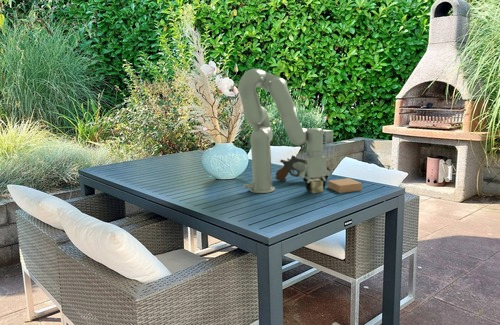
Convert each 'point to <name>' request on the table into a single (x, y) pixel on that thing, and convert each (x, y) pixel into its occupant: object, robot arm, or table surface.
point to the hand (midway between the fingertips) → (315, 189)
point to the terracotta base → (344, 185)
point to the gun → (294, 165)
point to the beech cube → (316, 186)
